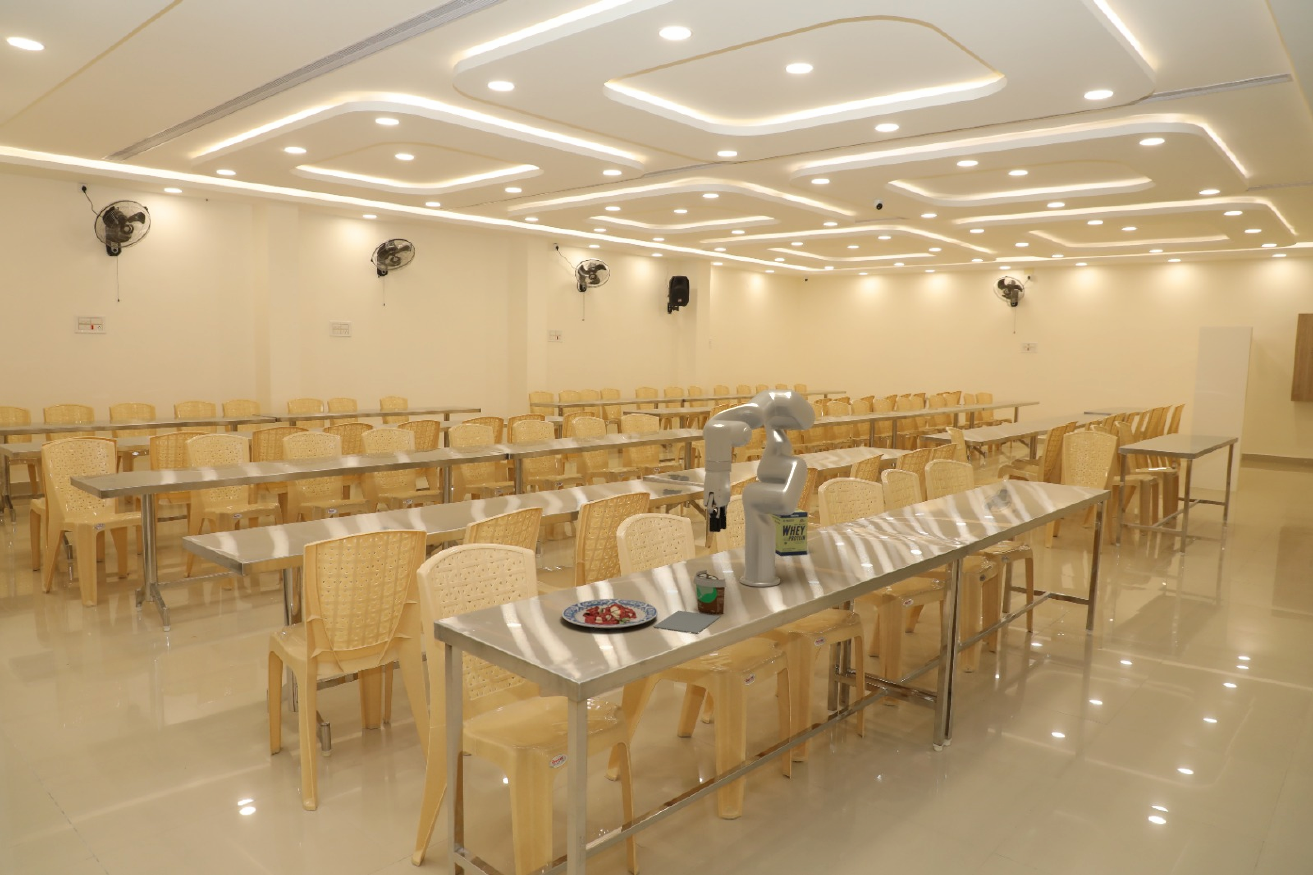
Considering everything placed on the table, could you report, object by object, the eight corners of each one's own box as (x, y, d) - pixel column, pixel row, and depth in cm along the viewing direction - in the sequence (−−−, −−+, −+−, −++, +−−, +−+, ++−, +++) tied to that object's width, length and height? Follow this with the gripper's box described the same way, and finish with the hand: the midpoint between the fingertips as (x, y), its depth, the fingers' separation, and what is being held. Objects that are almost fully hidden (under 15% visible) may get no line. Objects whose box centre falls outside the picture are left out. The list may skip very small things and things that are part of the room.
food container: (686, 606, 242) (686, 571, 241) (705, 603, 244) (705, 569, 243) (705, 618, 230) (705, 581, 230) (725, 615, 233) (726, 579, 232)
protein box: (780, 556, 304) (781, 513, 303) (765, 547, 319) (765, 506, 318) (807, 554, 307) (808, 512, 305) (791, 546, 322) (791, 505, 320)
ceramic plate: (551, 612, 237) (551, 601, 237) (638, 602, 247) (638, 592, 246) (576, 639, 214) (576, 628, 213) (672, 628, 223) (672, 616, 222)
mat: (678, 611, 237) (678, 610, 237) (720, 617, 231) (720, 616, 231) (653, 627, 222) (653, 626, 222) (697, 634, 217) (697, 632, 217)
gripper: (716, 462, 251) (716, 524, 253) (694, 469, 236) (694, 534, 238) (740, 464, 248) (740, 526, 249) (719, 470, 233) (719, 536, 234)
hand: (717, 529), depth 244 cm, fingers open, 3 cm apart
